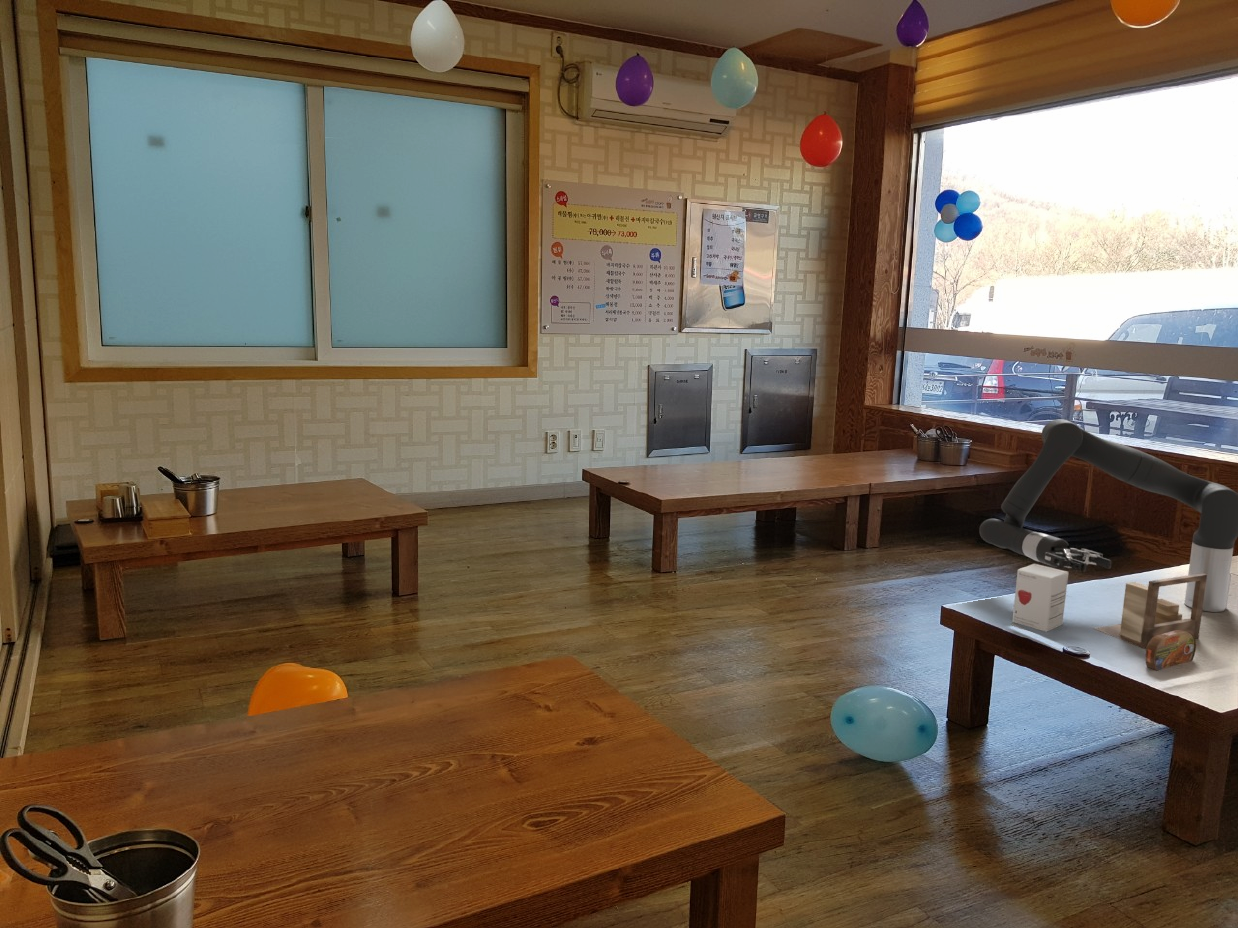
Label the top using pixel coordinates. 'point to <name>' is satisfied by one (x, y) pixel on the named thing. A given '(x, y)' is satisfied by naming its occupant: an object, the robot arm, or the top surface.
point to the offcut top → (1167, 607)
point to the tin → (1170, 649)
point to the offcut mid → (1167, 618)
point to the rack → (1151, 606)
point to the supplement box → (1040, 597)
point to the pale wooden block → (1134, 611)
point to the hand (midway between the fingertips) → (1098, 566)
